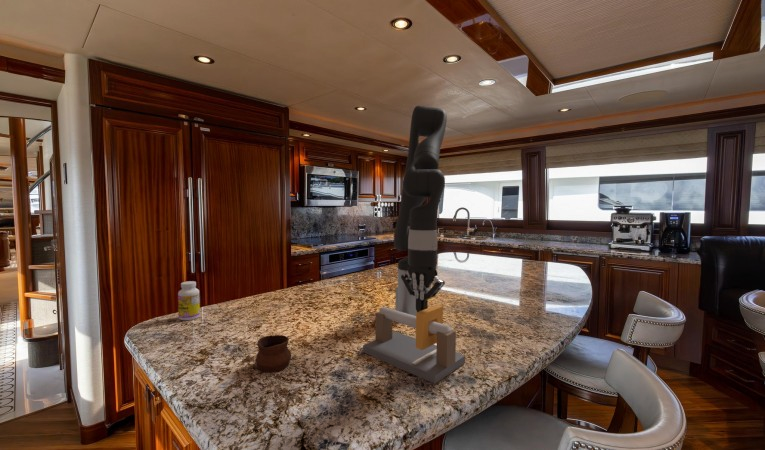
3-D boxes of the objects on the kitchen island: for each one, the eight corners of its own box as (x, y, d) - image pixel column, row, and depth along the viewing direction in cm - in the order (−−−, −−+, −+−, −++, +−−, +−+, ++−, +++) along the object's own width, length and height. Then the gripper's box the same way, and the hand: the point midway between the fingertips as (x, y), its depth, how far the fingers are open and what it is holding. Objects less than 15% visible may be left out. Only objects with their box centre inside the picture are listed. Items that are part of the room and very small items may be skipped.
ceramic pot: (234, 390, 74) (235, 359, 74) (236, 357, 90) (236, 331, 90) (315, 376, 81) (316, 347, 81) (303, 348, 97) (303, 324, 97)
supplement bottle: (174, 319, 118) (173, 283, 117) (191, 313, 124) (190, 279, 123) (187, 322, 115) (186, 285, 115) (204, 316, 122) (203, 281, 121)
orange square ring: (415, 347, 84) (416, 312, 83) (436, 337, 90) (436, 304, 90) (422, 350, 82) (422, 314, 82) (442, 339, 89) (442, 306, 88)
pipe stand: (362, 352, 93) (363, 311, 92) (395, 337, 103) (395, 300, 103) (434, 384, 77) (435, 335, 76) (465, 363, 87) (466, 319, 86)
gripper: (393, 245, 88) (393, 310, 89) (436, 251, 79) (434, 322, 80) (411, 243, 93) (410, 304, 95) (452, 248, 84) (451, 315, 86)
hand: (421, 312), depth 87 cm, fingers closed
